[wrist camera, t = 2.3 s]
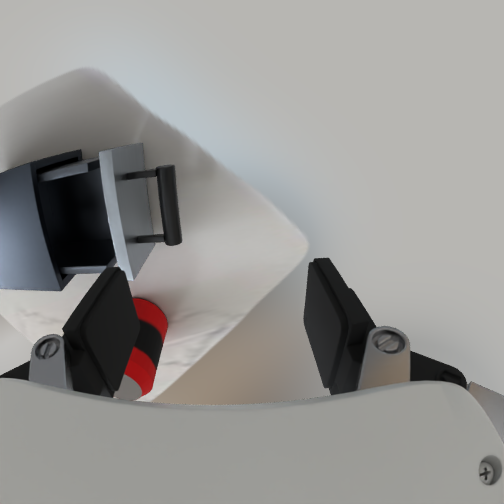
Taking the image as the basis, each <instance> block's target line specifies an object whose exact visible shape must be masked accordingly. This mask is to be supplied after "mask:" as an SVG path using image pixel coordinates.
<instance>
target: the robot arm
mask: <svg viewBox="0 0 504 504" xmlns="http://www.w3.org/2000/svg"><path fill="white" fill-rule="evenodd" d="M308 268H309V269H308V278H307V289H306V300H305V309H304V326H305V329H306V332H307V335H308V338H309V342H310V345H311V348H312V351H313V354H314V357H315V360H316V363H317V367H318V370H319V373H320V376H321V379H322V383H323V386H324V388H329V390H330V393H331V395H330V396H324V397H317V398H310V399H302V400H294V401H284V402H274V403H259V404H239V405H187V404H165V403H153V402H143V401H133V400H125V399H117V398H113V396H114V393H115V391H118V390H119V388H120V385H121V382H122V379H123V376H124V373H125V370H126V367H127V364H128V361H129V358H130V356H131V353H132V350H133V347H134V345H135V342H136V339H137V337H138V334H139V331H140V322H139V319H138V316H137V312H136V309H135V306H134V302H133V299H132V295H131V292H130V288H129V285H128V281H127V277H126V273H125V271H124V270H121V268H120V267H106V268H105V269H104V271H103V272H102V273H101V275H100V276H99V277H98V279H97V280H96V281H95V283H94V284H93V285H92V287H91V288H90V289H89V291H88V292H87V293H86V295H85V296H84V297H83V299H82V300H81V302H80V303H79V305H78V306H77V307H76V309H75V310H74V312H73V313H72V315H71V316H70V318H69V319H68V321H67V322H66V324H65V325H64V327H63V328H62V330H63V332H64V335H63V336H62V337H61V336H59V335H57V334H50V335H47V336H44V337H42V338H41V339H39V340H38V341H37V342H36V343H35V344H34V346H33V348H32V352H31V359H30V361H28V362H26V363H24V364H22V365H20V366H19V367H16V368H14V369H12V370H10V371H8V372H6V373H4V374H2V375H0V504H504V396H503V395H501V394H499V393H497V392H494V391H492V390H490V389H487V388H485V387H483V386H481V385H478V384H476V383H474V382H472V381H471V382H470V383H469V384H467V382H466V379H465V377H464V375H463V374H462V372H460V371H459V370H458V369H456V368H454V367H452V366H450V365H447V364H444V363H442V362H439V361H436V360H434V359H431V358H428V357H426V356H423V355H420V354H418V353H415V352H412V351H410V342H409V339H408V337H407V336H406V335H405V334H404V333H403V332H402V331H400V330H398V329H396V328H393V327H389V326H381V327H376V325H375V324H374V322H373V320H372V319H371V317H370V316H369V314H368V312H367V311H366V309H365V308H364V306H363V305H362V303H361V302H360V300H359V298H358V297H357V295H356V294H355V292H354V291H353V290H352V289H351V288H348V286H347V285H346V283H345V282H344V280H343V278H342V277H341V275H340V274H339V272H338V271H337V269H336V268H335V266H334V265H333V263H332V262H331V260H330V259H329V258H315V259H314V261H313V262H310V263H309V267H308Z"/></svg>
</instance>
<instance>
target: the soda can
mask: <svg viewBox="0 0 504 504" xmlns="http://www.w3.org/2000/svg"><path fill="white" fill-rule="evenodd" d="M132 299H133V302H134V306H135V309H136V312H137V316H138V319H139V322H140V331H139V334H138V337H137V339H136V342H135V345H134V347H133V350H132V353H131V356H130V358H129V361H128V364H127V367H126V370H125V373H124V376H123V379H122V382H121V385H120V388H119V390H118V391H115V393H114V396H113V397H116V398H119V399H125V400H137V399H139V398H140V397H142V396H144V395H146V394H147V393H149V392H150V391H151V390H152V387H153V383H154V379H155V374H156V370H157V366H158V362H159V358H160V354H161V350H162V347H163V343H164V339H165V335H166V332H167V328H168V323H167V319H166V317H165V315H164V314H163V312H162V311H161V310H160V309H159V308H158V307H157V306H156V305H154V304H153V303H151V302H149V301H146V300H144V299H138V298H132Z"/></svg>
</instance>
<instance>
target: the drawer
mask: <svg viewBox="0 0 504 504" xmlns="http://www.w3.org/2000/svg"><path fill="white" fill-rule="evenodd" d="M36 174H37V181H38V187H39V193H40V199H41V204H42V209H43V213H44V218H45V222H46V227H47V231H48V235H49V238H50V242H51V246H52V249H53V253H54V256H55V259H56V263H57V266H58V269H59V272H60V274H89V273H102V272H103V271H104V269H105V268H106V267H114V265H115V264H116V263H117V262H118V266H119V267H120V268H121V270H124V271H125V273H126V277H127V281H134V280H135V278H136V276H137V274H138V273H139V271H140V269H141V267H142V266H143V264H144V262H145V261H146V259H147V257H148V256H149V254H150V252H151V251H152V249H153V247H154V246H155V242H165V244H166V245H169V246H174V245H178V244H180V243H182V234H181V225H180V217H179V208H178V198H177V188H176V176H175V166H174V165H163V166H158V167H156V169H152V170H145V166H144V155H143V143H138V144H132V145H127V146H122V147H117V148H112V149H108V150H104V151H100V152H99V157H96V158H91V159H86V160H82V161H77V162H73V163H69V164H65V165H61V166H57V167H53V168H49V169H45V170H42V171H39V172H37V173H36ZM156 176H157V183H158V192H159V201H160V209H161V217H162V224H163V231H164V234H155V235H153V229H152V223H151V216H150V209H149V201H148V193H147V185H146V178H148V177H156Z"/></svg>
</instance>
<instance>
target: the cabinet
mask: <svg viewBox="0 0 504 504" xmlns="http://www.w3.org/2000/svg"><path fill="white" fill-rule="evenodd" d="M77 161H82V154H81V149H80V150H75V151H71V152H67V153H63V154H59V155H55V156H51V157H47V158H44V159H40V160H37V161H33V162H30V163H27V164H24V165H21V166H18V167H16V168H13V169H10V170H7V171H5V172H2V173H0V289H15V290H39V291H62V290H63V289H64V288H65V286H66V285H67V284H68V283H69V282H70V280H71V279H72V278H73V277H74V276H75V275H76V274H60V272H59V269H58V266H57V263H56V259H55V256H54V253H53V249H52V246H51V242H50V238H49V235H48V231H47V227H46V222H45V218H44V213H43V209H42V204H41V199H40V193H39V187H38V181H37V174H36V173H37V172H39V171H42V170H45V169H49V168H53V167H57V166H61V165H65V164H69V163H73V162H77Z"/></svg>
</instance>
